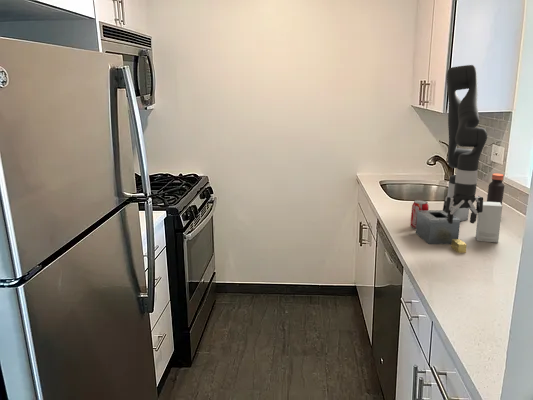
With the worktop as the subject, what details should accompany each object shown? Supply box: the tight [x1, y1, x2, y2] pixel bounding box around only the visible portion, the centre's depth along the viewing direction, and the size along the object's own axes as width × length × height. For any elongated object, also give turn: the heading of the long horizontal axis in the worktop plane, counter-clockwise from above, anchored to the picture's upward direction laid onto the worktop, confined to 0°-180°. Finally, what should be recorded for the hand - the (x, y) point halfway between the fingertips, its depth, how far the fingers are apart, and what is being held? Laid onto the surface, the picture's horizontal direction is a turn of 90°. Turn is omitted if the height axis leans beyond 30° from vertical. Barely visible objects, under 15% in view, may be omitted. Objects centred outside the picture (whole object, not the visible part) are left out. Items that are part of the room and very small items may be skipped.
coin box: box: [415, 209, 461, 245], centre depth 191 cm, size 12×14×10 cm
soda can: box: [410, 199, 430, 230], centre depth 204 cm, size 7×7×12 cm
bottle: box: [486, 173, 505, 206], centre depth 223 cm, size 7×7×20 cm
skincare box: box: [475, 200, 503, 243], centre depth 189 cm, size 8×7×16 cm
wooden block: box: [450, 238, 468, 254], centre depth 179 cm, size 3×6×4 cm, turn 3°
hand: (461, 223), depth 176 cm, fingers open, 8 cm apart
